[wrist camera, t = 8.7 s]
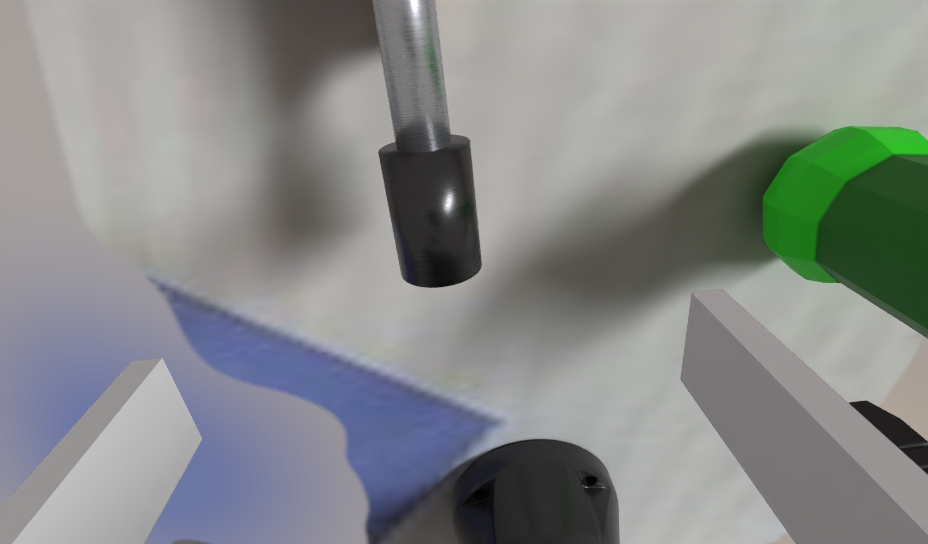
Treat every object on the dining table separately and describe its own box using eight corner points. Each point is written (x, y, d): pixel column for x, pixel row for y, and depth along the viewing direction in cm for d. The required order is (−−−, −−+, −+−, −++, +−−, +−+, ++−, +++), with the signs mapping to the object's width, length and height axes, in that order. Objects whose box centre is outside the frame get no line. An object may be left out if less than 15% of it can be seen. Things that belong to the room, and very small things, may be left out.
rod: (469, 203, 31) (485, 281, 22) (271, 227, 31) (202, 315, 22) (420, -269, 21) (410, -501, 12) (125, -235, 21) (-120, -441, 12)
